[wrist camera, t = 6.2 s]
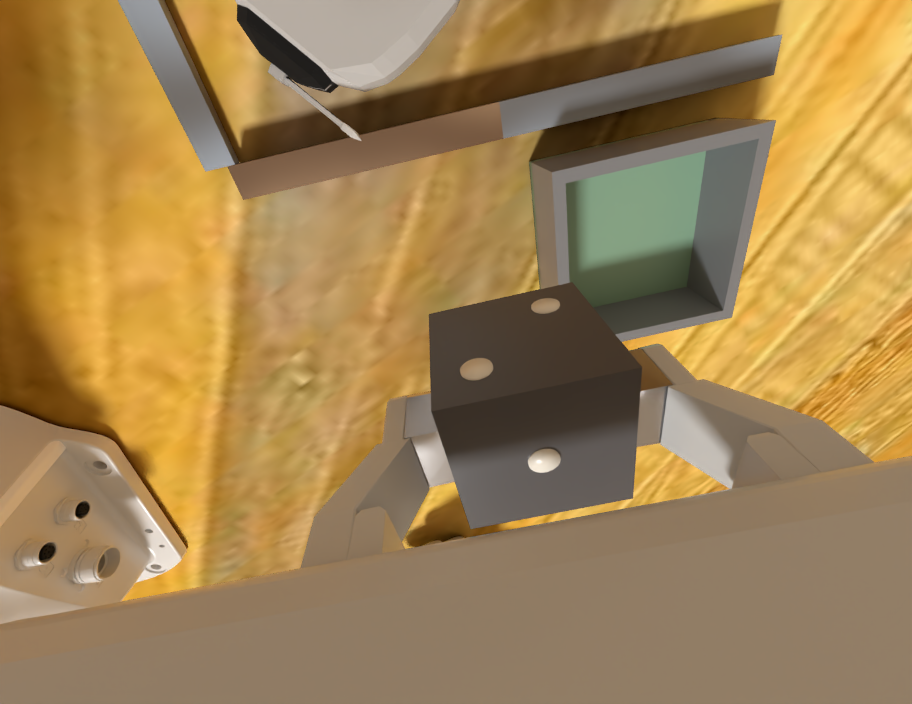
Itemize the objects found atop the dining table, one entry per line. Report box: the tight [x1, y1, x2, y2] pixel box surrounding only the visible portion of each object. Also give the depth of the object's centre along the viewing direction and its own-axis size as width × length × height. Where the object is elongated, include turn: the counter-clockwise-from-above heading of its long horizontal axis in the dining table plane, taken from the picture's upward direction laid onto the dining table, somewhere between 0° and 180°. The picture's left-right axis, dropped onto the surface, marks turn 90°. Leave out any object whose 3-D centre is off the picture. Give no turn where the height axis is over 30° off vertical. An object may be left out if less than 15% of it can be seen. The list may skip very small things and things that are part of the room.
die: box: [429, 282, 642, 529], centre depth 10 cm, size 4×4×4 cm
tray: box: [529, 118, 776, 342], centre depth 21 cm, size 10×10×4 cm
